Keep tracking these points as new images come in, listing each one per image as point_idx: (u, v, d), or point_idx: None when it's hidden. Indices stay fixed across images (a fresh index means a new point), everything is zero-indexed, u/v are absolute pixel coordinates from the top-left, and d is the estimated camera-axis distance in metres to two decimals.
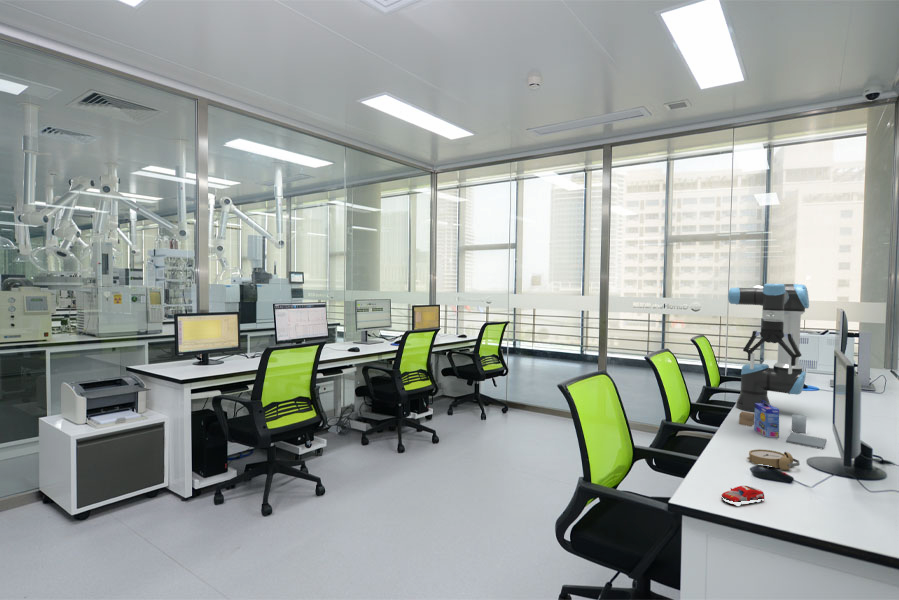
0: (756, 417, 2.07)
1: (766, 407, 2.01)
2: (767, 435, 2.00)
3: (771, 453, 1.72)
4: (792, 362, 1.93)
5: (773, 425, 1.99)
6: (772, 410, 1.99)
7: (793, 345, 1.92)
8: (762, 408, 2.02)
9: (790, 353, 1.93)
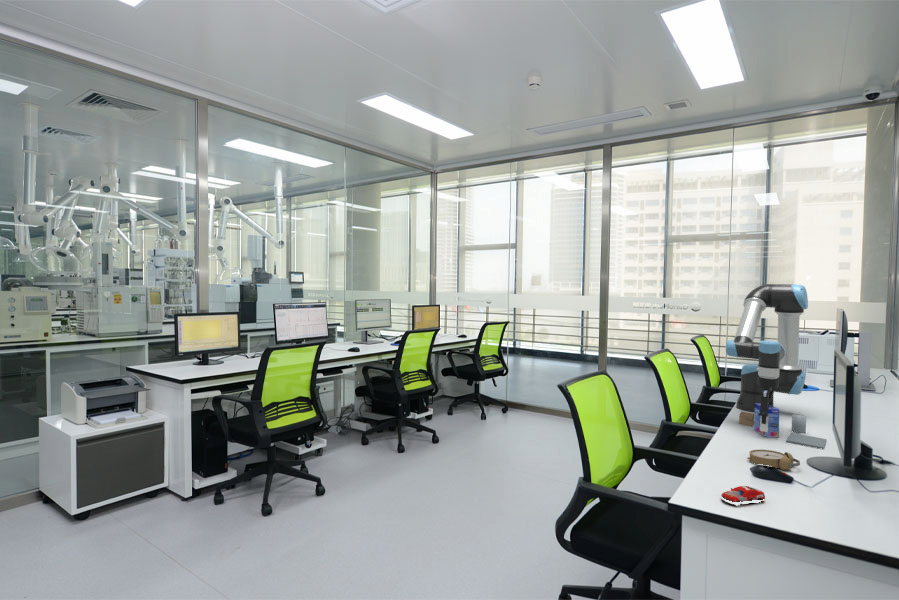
0: (756, 417, 2.07)
1: None
2: (767, 435, 2.00)
3: (771, 453, 1.72)
4: (761, 420, 2.00)
5: (773, 425, 1.99)
6: (772, 410, 1.99)
7: (761, 403, 1.99)
8: None
9: None
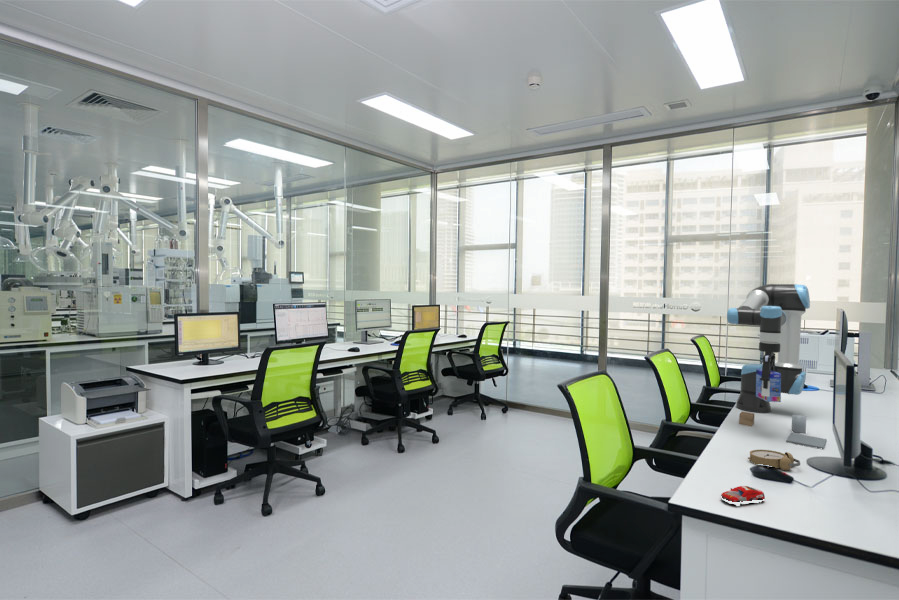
0: (757, 383, 2.07)
1: None
2: (769, 400, 1.99)
3: (772, 453, 1.72)
4: None
5: (774, 390, 1.99)
6: (774, 375, 1.99)
7: None
8: None
9: None
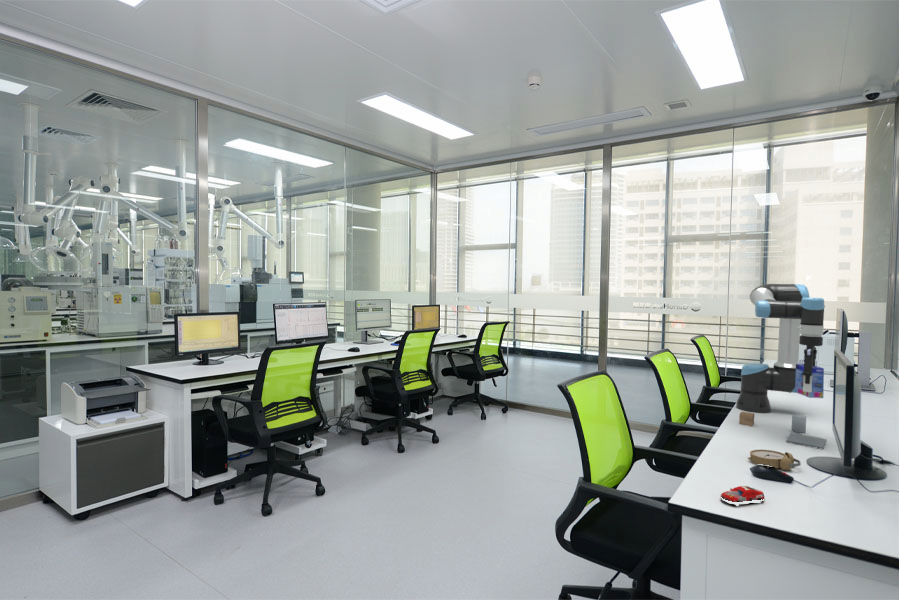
0: (797, 378, 1.97)
1: None
2: (811, 396, 1.90)
3: (772, 453, 1.72)
4: (805, 379, 1.90)
5: (817, 385, 1.89)
6: (816, 369, 1.89)
7: None
8: None
9: None
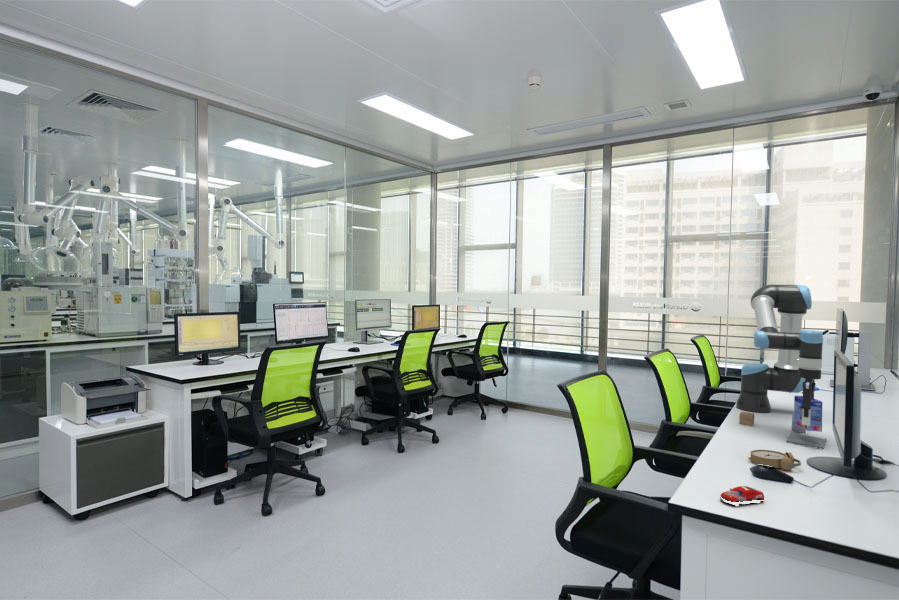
0: (796, 410, 1.98)
1: None
2: (809, 429, 1.90)
3: (772, 453, 1.72)
4: (804, 413, 1.90)
5: (815, 419, 1.90)
6: (815, 403, 1.89)
7: (803, 395, 1.90)
8: None
9: None
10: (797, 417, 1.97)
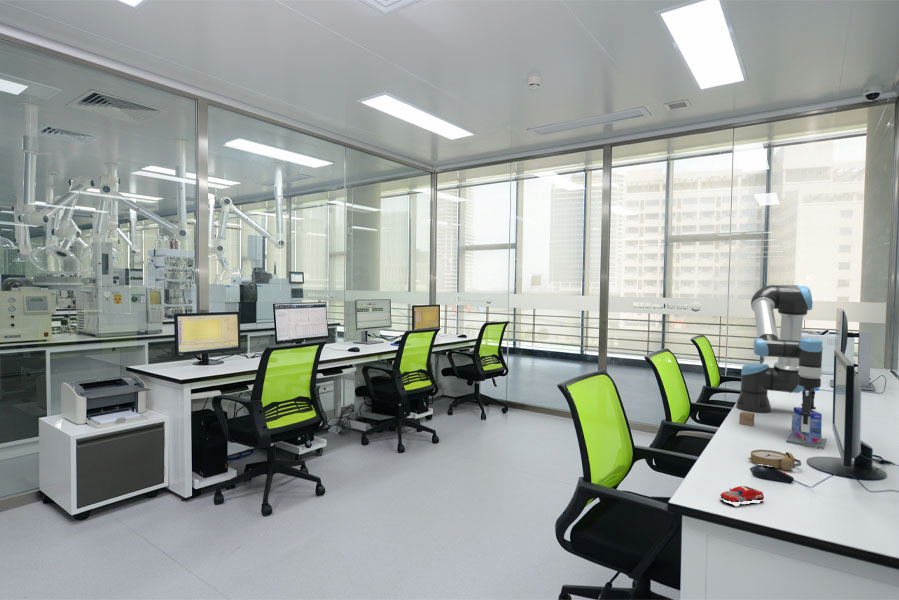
0: (795, 422, 1.98)
1: None
2: (809, 441, 1.90)
3: (772, 453, 1.72)
4: (803, 420, 1.89)
5: (815, 431, 1.90)
6: (814, 415, 1.89)
7: None
8: None
9: None
10: (796, 429, 1.97)
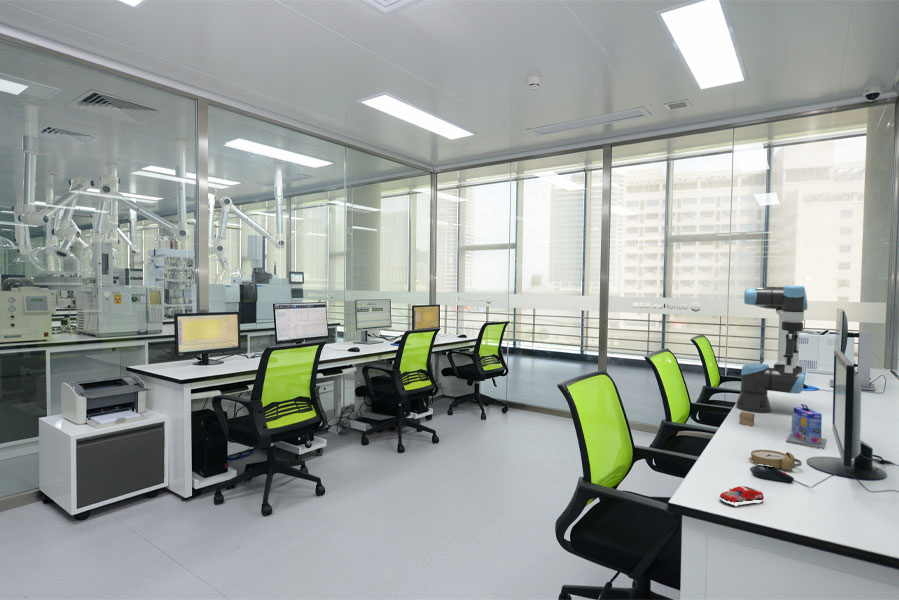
0: (795, 422, 1.98)
1: (807, 412, 1.92)
2: (809, 441, 1.90)
3: (773, 453, 1.72)
4: (786, 361, 2.01)
5: (815, 431, 1.90)
6: (814, 415, 1.89)
7: (786, 345, 2.00)
8: (803, 413, 1.93)
9: None
10: (796, 429, 1.97)
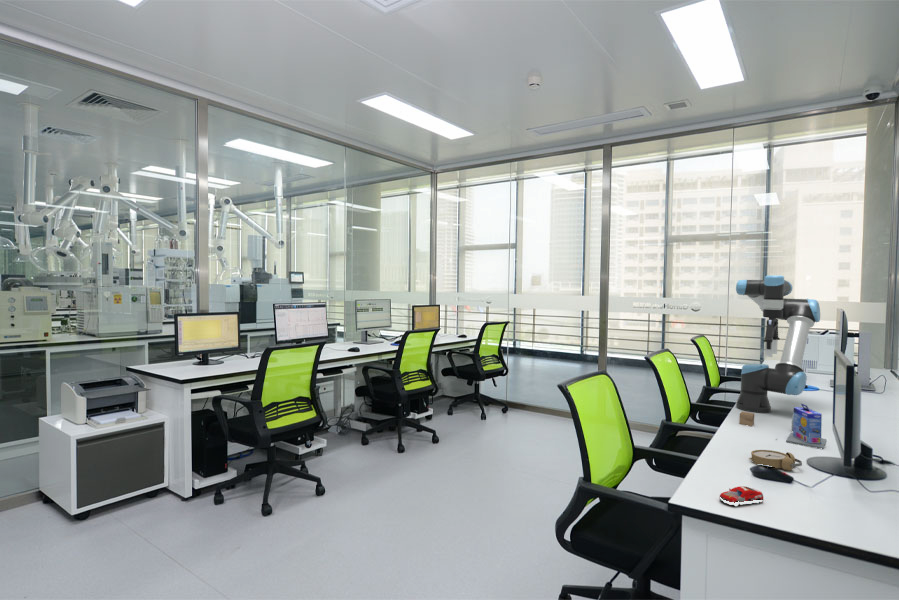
0: (795, 422, 1.98)
1: (807, 412, 1.92)
2: (809, 441, 1.90)
3: (773, 453, 1.72)
4: (766, 346, 2.14)
5: (815, 431, 1.90)
6: (814, 415, 1.89)
7: (766, 330, 2.14)
8: (803, 413, 1.93)
9: None
10: (796, 429, 1.97)
